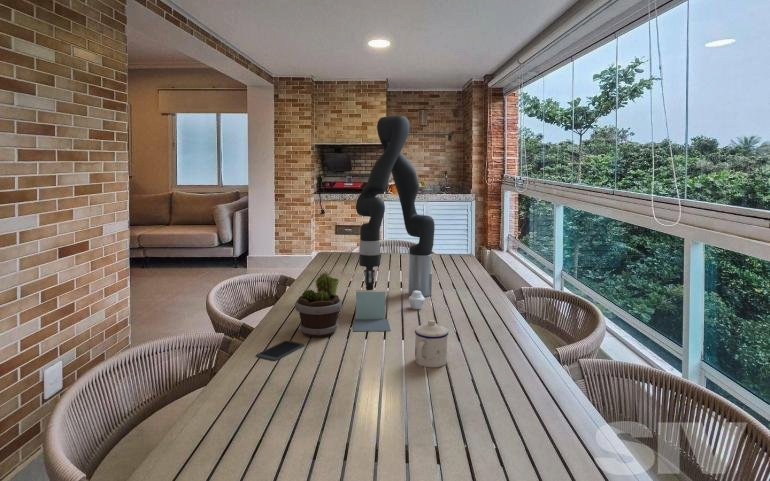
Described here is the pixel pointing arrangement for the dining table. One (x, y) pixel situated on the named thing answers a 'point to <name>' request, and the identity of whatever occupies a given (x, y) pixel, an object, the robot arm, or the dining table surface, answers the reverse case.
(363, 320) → the mat
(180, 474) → the dining table surface
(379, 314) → the tile
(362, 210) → the robot arm
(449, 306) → the dining table surface
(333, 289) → the plant pot
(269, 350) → the cell phone
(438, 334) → the teacup with lid
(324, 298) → the flowerpot
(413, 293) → the white citrus juicer
